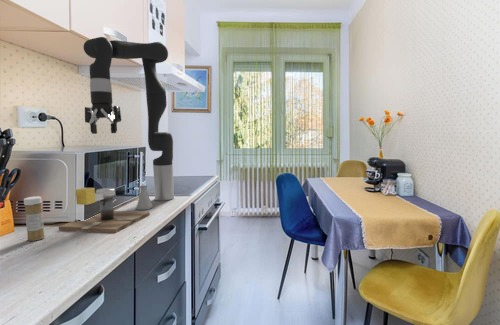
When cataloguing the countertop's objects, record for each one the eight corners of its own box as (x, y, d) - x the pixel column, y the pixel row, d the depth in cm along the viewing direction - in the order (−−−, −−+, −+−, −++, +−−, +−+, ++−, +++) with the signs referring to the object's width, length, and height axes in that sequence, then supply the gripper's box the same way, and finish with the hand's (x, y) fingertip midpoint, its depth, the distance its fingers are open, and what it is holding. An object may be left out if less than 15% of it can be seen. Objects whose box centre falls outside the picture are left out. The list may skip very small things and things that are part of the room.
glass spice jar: (107, 216, 117) (106, 195, 117) (117, 216, 117) (116, 196, 116) (96, 220, 111) (95, 199, 110) (107, 221, 110) (106, 199, 110)
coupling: (104, 195, 117) (103, 182, 116) (119, 195, 116) (118, 182, 115) (73, 204, 102) (72, 189, 102) (90, 204, 101) (89, 190, 100)
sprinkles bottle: (34, 236, 99) (30, 196, 98) (48, 236, 99) (44, 195, 97) (23, 241, 94) (19, 199, 93) (38, 241, 94) (34, 198, 93)
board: (101, 213, 127) (101, 209, 127) (149, 214, 123) (149, 211, 123) (56, 230, 104) (56, 226, 104) (114, 233, 100) (113, 229, 100)
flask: (155, 206, 137) (154, 184, 136) (148, 210, 130) (147, 187, 129) (140, 206, 138) (139, 184, 137) (132, 210, 131) (131, 187, 130)
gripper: (123, 92, 120) (125, 133, 122) (91, 93, 123) (94, 133, 125) (111, 89, 113) (114, 133, 115) (77, 91, 116) (81, 133, 117)
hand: (104, 133), depth 120 cm, fingers open, 8 cm apart
